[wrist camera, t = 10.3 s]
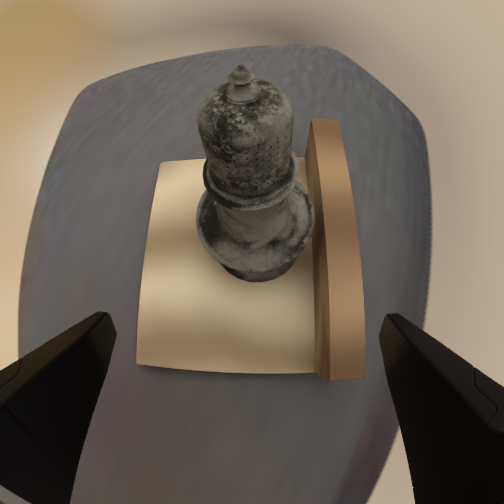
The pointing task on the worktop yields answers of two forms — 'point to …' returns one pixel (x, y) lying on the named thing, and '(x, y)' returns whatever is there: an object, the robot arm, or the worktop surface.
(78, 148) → the worktop surface
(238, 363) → the board
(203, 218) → the grey tall rounded piece
